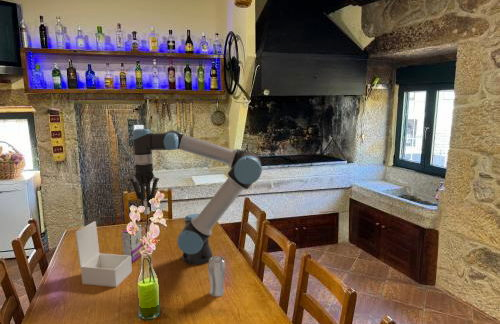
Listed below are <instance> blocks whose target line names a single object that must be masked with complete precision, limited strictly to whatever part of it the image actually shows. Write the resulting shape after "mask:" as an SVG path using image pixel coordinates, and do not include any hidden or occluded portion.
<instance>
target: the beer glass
mask: <svg viewBox="0 0 500 324" xmlns="http://www.w3.org/2000/svg"><path fill="white" fill-rule="evenodd" d="M225 260H226V259H225V258H224V257H223V256H220V255H219V256H218V255H214V256H212V257H211V258H209V262H208V264H207V265H208V268H207V269H208V270H207V271H208V278H209V283H210V290H209V295H210V296H212V297H214V298H217V297H222V296H224V294H225V288H224V281H225V277H226V276H225V274H226V263H225V262H226V261H225Z"/></svg>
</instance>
